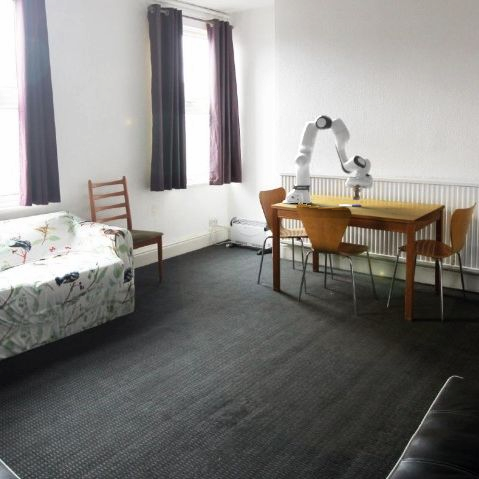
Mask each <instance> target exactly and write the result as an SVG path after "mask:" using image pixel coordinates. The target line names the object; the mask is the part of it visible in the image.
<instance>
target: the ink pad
mask: <svg viewBox="0 0 479 479" xmlns="http://www.w3.org/2000/svg"><path fill="white" fill-rule="evenodd" d="M351 205H352V206H351V208H360V206H361V203H352V204H351Z"/></svg>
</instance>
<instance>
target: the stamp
mask: <svg viewBox="0 0 479 479" xmlns="http://www.w3.org/2000/svg"><path fill="white" fill-rule="evenodd" d="M354 187H355V192H354V195H353V198H352V199H353V201H360V200H361V196H360V192H358V190H359V189H360V188H359V185H358V184H356V185H355V186H354Z"/></svg>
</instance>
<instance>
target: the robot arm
mask: <svg viewBox="0 0 479 479" xmlns="http://www.w3.org/2000/svg"><path fill="white" fill-rule="evenodd" d="M326 130H330V131H331V133H332V134H333V136H334V140H335V150H336V153H337V155H338V159H339V161H340V167H341V170H342V172H343V173H346V174H347V175H349V174H352V173H354V172H355V171H356V173H355V176H349V177H348V178H347V180H346V182H345V184H344V185H345V188H349V189H351V188H352V192H353V193H355V187H354V186H355V185H356V184H358V185H359V190H358V192H359V193H361V192H362V191H363V190H364V189H372V188H373V181H374V178H373V177H372V176H373V175H372V174H369V173H370V170H371V167H372V163H371V162H372V161H370V159H368V158H363V157H362V156H359V155H355V156H353V157H351V158H349V159H348V157H347V153H346V150H345V147H346V146H347V144H348V142H349V140H350V138H351V137H350V136H351V134H350V132H349V129H348V128H347V125H346V124H345V122H344V121H343V120H342V118H340V117H337V118H334V119H332V118H331V117H330V116H328V115H326V114H324V115H323V114H322V115H319V116H318V117H316V119H315V121H308V122H306V123H305V126H304V128H303V131H302V134H301V139H300V143H299V147H298V152H297V155H296V156H295V159H294V171H295V184H294V185H293V186H292V190H291V191H290V192H288V193H287V194H286V196H285V200H283V201H282V203H283V204H290V203H299V202H300V203H306V204H312V199H311V184H310V183H311V182H310V181H311V180H310V179H311V173H310V163H311V161H312V156H313V152H314V147H315V144H316V140H317V136H318V133H319V131H326Z"/></svg>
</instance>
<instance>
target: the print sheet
mask: <svg viewBox="0 0 479 479" xmlns="http://www.w3.org/2000/svg"><path fill="white" fill-rule="evenodd" d="M352 205H353V204H351V203H350V204H348V203H347V204H345V203H344V204H343V203H340V204H339V207H348V208H349V207H350V208H352Z"/></svg>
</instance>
